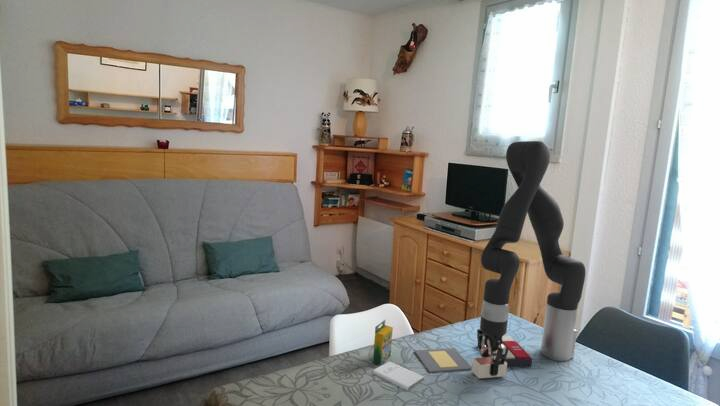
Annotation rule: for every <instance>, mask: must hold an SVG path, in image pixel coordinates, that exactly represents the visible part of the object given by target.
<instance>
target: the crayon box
mask: <svg viewBox="0 0 720 406" xmlns="http://www.w3.org/2000/svg"><path fill="white" fill-rule="evenodd" d="M393 328H394V327H393V326H389V325H386V319H384V320H383V321H382V322H380V323H379V324H377V325H376V326H375V328H374V341H373V342H374V343H373V355H372V364H375V365H379V366H382V365H383V363H385V361H387V360H388V358H390V357H391V352H392V340H393V330H394V329H393Z"/></svg>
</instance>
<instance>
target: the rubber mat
mask: <svg viewBox="0 0 720 406" xmlns="http://www.w3.org/2000/svg"><path fill="white" fill-rule="evenodd" d="M414 353H415V355H416V356H417V357H418V359H419V360H420V361H421V363H422V365H423V366H424V367H425V369H426V370H427V371H428V373H430V374H431V373H433V374H434V373H446V372H447V373H448V372H457V371H458V372H461V371H471V370H472V365H471V364H470V363H469V362H468V361H467V360H466V359H465V358H464V357H463V356H462V355H461V353H459V351H458V350H457V349H456V348H455V347H452V348H435V349H432V348H431V349H418V350H414Z"/></svg>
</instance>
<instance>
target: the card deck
mask: <svg viewBox="0 0 720 406" xmlns="http://www.w3.org/2000/svg"><path fill="white" fill-rule="evenodd" d="M495 358H496V356H494V359H495ZM500 360H501V359H500ZM490 364H491V357H482V356H480V357H472V360H471V367H472V370H470V371H471V372H472V373H473V374H474V375H475V377H477V378H478V379H490V378H501V377H506V376H507V370H508V367H507V363H506V362H504V364H503V365H499V367H498V374H497V375H495V376H491V375H490Z"/></svg>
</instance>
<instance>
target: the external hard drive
mask: <svg viewBox="0 0 720 406" xmlns="http://www.w3.org/2000/svg"><path fill="white" fill-rule="evenodd" d="M372 374H373V375H375V376H377V377H379V378H381V379H384V380H385V381H387V382H389V383H391V384H394V385H396V386H397V387H400V388H401V389H404V390H406V391H407V392H408V391H410V390H412V389H413V388H415V386H417V385H418V384H420V383H422V382H423V381H425V376H423V375H421V374H418V373H417V372H414V371H411V370H409V369H407V368H405V367H403V366H400V365H398V364H397V363H395V362H391V361H387V362H386V363H384V364H381V365H379V367H377V368H374V369H373V371H372Z"/></svg>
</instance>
